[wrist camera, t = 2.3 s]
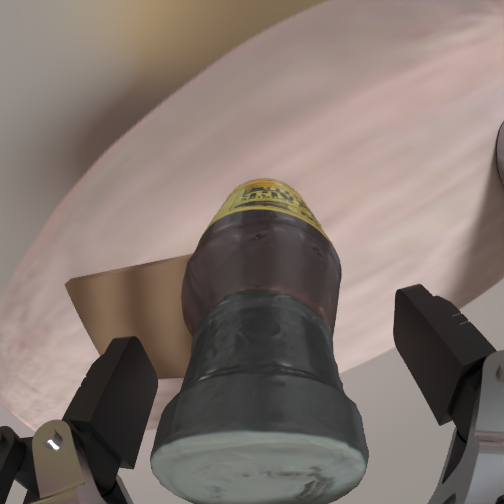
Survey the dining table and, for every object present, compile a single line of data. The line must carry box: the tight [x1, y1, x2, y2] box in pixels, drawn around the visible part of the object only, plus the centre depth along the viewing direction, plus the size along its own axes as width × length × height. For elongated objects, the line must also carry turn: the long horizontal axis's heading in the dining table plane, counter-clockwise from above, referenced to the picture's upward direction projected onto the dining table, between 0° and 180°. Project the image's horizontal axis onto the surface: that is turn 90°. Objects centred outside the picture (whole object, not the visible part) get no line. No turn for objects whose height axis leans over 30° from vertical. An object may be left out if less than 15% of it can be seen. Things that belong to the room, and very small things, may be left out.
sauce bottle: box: [150, 178, 369, 504], centre depth 13 cm, size 7×6×20 cm
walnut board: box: [65, 254, 193, 379], centre depth 26 cm, size 14×12×1 cm
